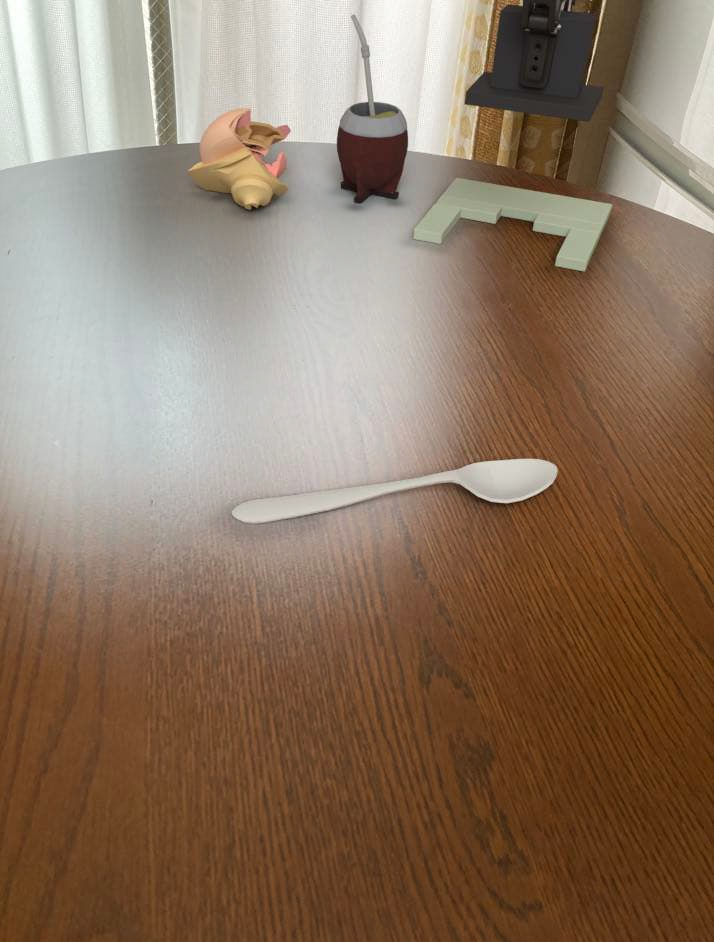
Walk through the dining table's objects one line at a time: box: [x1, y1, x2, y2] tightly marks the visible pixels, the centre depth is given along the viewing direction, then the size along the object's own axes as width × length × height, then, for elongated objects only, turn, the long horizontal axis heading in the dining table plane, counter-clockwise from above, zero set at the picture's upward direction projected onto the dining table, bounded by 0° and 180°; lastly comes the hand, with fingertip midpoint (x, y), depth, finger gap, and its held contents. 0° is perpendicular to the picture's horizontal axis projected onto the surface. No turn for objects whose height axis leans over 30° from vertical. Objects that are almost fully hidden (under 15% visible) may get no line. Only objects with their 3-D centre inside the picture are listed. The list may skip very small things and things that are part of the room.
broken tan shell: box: [187, 107, 292, 211], centre depth 90 cm, size 9×10×10 cm
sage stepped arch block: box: [412, 177, 613, 272], centre depth 88 cm, size 16×14×1 cm
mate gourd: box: [336, 14, 409, 204], centre depth 89 cm, size 8×8×15 cm
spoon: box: [231, 458, 559, 525], centre depth 57 cm, size 4×21×2 cm, turn 99°
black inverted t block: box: [464, 4, 605, 123], centre depth 73 cm, size 10×8×6 cm
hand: (537, 79), depth 74 cm, fingers closed on black inverted t block, 2 cm apart
